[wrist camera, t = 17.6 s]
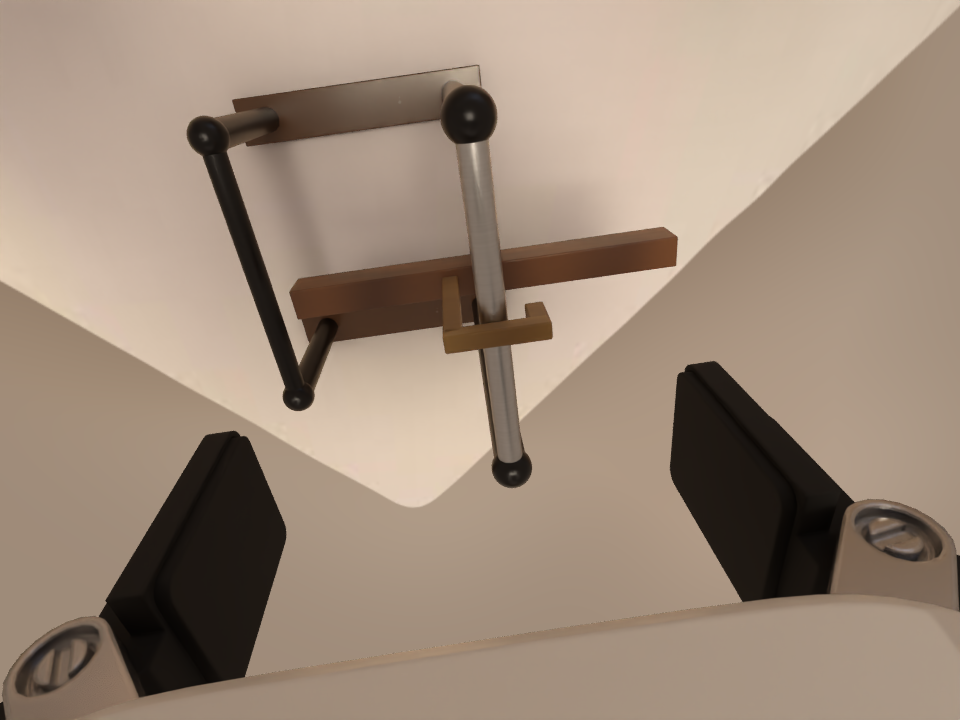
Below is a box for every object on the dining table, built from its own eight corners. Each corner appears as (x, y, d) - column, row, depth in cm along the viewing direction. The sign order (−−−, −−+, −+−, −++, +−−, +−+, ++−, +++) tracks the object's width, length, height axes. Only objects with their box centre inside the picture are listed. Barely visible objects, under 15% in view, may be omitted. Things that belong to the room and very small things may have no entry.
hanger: (306, 305, 29) (258, 390, 22) (297, 278, 29) (244, 356, 21) (662, 254, 29) (742, 321, 22) (663, 226, 29) (747, 285, 21)
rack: (312, 339, 46) (216, 547, 26) (237, 99, 37) (-2, 134, 17) (505, 311, 46) (557, 498, 26) (477, 64, 37) (525, 59, 17)
